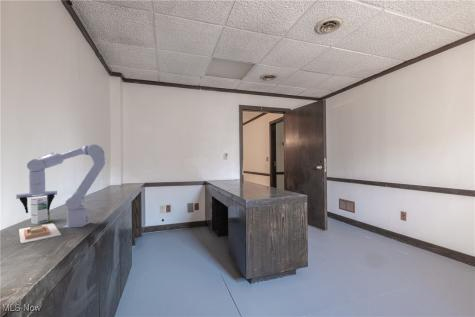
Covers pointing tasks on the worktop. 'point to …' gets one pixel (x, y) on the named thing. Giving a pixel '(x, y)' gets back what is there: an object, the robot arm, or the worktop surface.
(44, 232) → the terracotta frame
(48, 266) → the worktop surface
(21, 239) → the white mat
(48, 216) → the syrup box
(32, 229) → the maple block
